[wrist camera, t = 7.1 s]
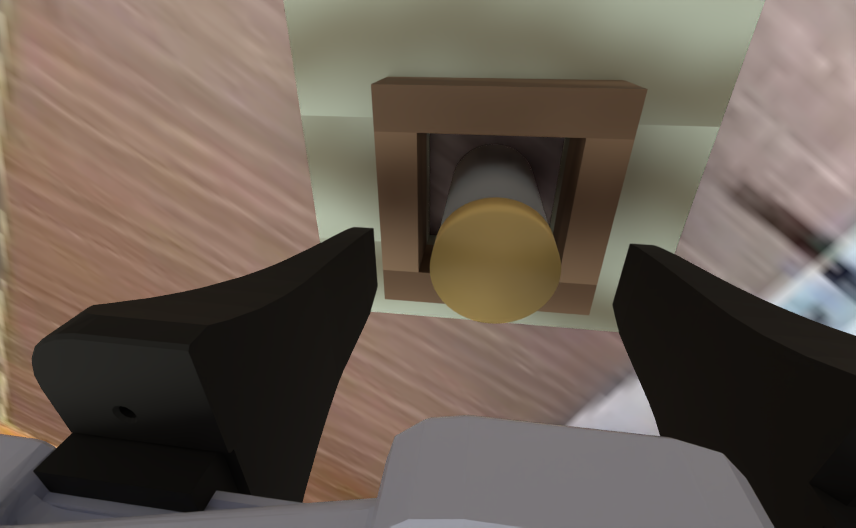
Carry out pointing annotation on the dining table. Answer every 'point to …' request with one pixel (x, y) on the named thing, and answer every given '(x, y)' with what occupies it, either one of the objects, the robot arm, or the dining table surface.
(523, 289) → the yellow capped shaker
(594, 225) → the holder
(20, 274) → the dining table surface
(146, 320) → the robot arm
